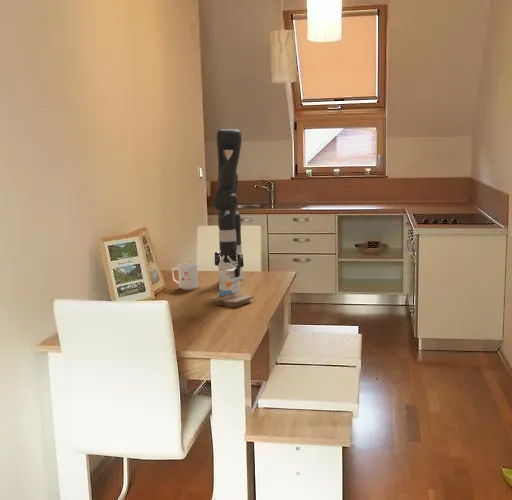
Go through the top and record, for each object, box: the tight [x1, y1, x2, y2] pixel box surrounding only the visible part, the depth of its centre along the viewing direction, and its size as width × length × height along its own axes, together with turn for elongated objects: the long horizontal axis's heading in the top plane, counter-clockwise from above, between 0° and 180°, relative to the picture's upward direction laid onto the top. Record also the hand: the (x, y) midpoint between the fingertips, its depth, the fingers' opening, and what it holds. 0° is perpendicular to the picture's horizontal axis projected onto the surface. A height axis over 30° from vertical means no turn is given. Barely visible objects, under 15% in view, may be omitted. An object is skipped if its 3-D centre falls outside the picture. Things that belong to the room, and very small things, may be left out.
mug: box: [171, 262, 199, 291], centre depth 316 cm, size 12×9×11 cm
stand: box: [212, 293, 254, 308], centre depth 284 cm, size 12×12×2 cm
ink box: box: [218, 262, 242, 297], centre depth 298 cm, size 8×5×15 cm, turn 123°
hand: (229, 276), depth 297 cm, fingers open, 8 cm apart
